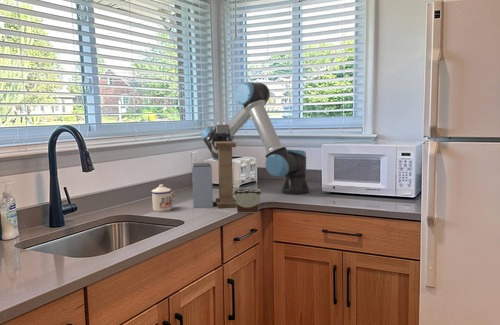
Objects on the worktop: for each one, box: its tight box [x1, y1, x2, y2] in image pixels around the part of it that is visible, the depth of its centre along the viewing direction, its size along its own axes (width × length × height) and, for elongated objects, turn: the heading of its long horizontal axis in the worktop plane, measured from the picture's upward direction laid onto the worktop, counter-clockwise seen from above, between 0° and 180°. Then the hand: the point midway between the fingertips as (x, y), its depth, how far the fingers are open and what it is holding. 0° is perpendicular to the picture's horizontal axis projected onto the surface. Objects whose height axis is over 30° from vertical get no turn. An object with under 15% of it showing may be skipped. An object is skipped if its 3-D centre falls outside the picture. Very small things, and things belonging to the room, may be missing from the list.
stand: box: [214, 140, 237, 209], centre depth 208 cm, size 14×9×30 cm, turn 8°
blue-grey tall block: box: [191, 162, 214, 209], centre depth 210 cm, size 11×9×20 cm
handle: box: [215, 123, 229, 133], centre depth 223 cm, size 19×6×4 cm, turn 8°
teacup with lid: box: [151, 184, 176, 213], centre depth 202 cm, size 12×9×12 cm
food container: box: [233, 187, 262, 214], centre depth 195 cm, size 12×6×10 cm, turn 84°
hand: (221, 124), depth 224 cm, fingers closed on handle, 2 cm apart
